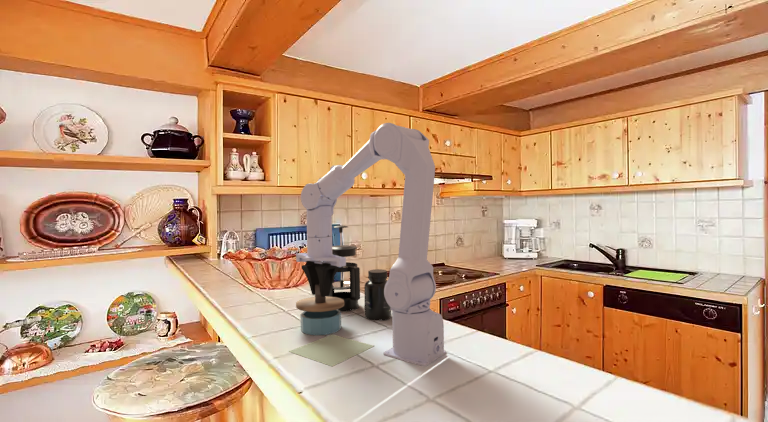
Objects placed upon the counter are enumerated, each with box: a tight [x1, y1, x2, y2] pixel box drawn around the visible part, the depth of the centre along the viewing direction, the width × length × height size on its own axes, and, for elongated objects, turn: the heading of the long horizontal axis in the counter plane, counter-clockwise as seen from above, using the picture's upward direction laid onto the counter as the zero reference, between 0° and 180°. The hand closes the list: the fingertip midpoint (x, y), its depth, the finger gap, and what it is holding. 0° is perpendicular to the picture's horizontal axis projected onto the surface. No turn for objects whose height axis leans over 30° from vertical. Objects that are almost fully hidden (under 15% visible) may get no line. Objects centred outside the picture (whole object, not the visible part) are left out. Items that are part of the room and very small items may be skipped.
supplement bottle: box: [364, 268, 392, 321], centre depth 99 cm, size 7×7×12 cm
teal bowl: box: [299, 309, 342, 336], centre depth 90 cm, size 9×9×4 cm
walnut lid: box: [295, 284, 344, 312], centre depth 90 cm, size 11×11×5 cm
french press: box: [326, 225, 361, 313], centre depth 109 cm, size 12×9×23 cm
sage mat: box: [288, 333, 375, 367], centre depth 78 cm, size 12×12×1 cm
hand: (320, 295), depth 90 cm, fingers closed on walnut lid, 2 cm apart
